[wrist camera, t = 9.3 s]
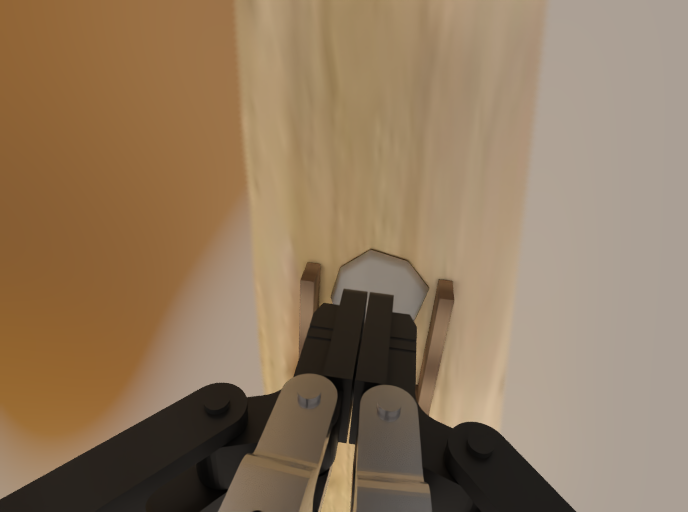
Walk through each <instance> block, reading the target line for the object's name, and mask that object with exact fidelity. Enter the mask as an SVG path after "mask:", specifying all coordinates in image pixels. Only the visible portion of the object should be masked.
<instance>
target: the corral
mask: <svg viewBox="0 0 688 512" xmlns="http://www.w3.org/2000/svg"><path fill="white" fill-rule="evenodd" d="M319 283H320V264H316V263H307V265H306V268H305V270H304V273H303V275H302V278H301V280H300V326H299V358H300V354H301V351H302V348H303V345H304V342H305V338H306V335H307V332H308V329H309V326H310V322H311V319H312V316H313V313H314V312H315V311H316V310H317V309H318V305H319ZM453 303H454V294H453V283H452V281H447V280H440V279H439V281H438V286H437V291H436V296H435V301H434V306H433V312H432V317H431V322H430V327H429V332H428V337H427V342H426V347H425V352H424V357H423V362H422V367H421V372H420V378H419V383H418V385H415V395H416V399H417V402H418V404H419V406H420V407H421V409H422V410H423V411H424V412H425V413H426V414H427V415H428V416H429V411H430V407H431V402H432V398H433V393H434V389H435V384H436V380H437V375H438V371H439V366H440V362H441V357H442V353H443V348H444V344H445V339H446V335H447V330H448V326H449V321H450V317H451V312H452V308H453ZM352 406H353V405H352Z"/></svg>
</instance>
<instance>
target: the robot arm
mask: <svg viewBox="0 0 688 512" xmlns="http://www.w3.org/2000/svg"><path fill="white" fill-rule="evenodd" d="M367 296H368V292H367V291H359V290H352V289H343V293H342V297H341V301H340V305H336V304H328V303H323V304H322V305H321V306H320V307H319V308H318V309H317V310H316V311H315V312H314V313H313V316H312V319H311V322H310V326H309V329H308V332H307V335H306V338H305V342H304V345H303V348H302V351H301V354H300V358H299V361H298V364H297V367H296V370H295V374H294V376H293V378H291V379H290V380H288V381H287V382H286V383H285V384H284V386H283V388H282V389H281V390H279V391H277V392H275V393H272V394H269V395H263V396H254V397H246V395H245V393H244V392H243V391H242V390H241V389H240V388H239V387H237V386H235V385H233V384H229V383H215V384H210V385H207V386H205V387H203V388H201V389H199V390H197V391H195V392H193V393H192V394H190V395H188V396H186V397H184V398H183V399H181V400H179V401H177V402H175V403H174V404H172V405H170V406H168V407H166V408H165V409H163V410H161V411H159V412H157V413H156V414H154V415H152V416H151V417H148V418H147V419H145V420H143V421H141V422H139V423H138V424H136V425H134V426H132V427H130V428H129V429H127V430H125V431H123V432H121V433H119V434H118V435H116V436H114V437H112V438H111V439H109V440H107V441H105V442H103V443H101V444H100V445H98V446H96V447H94V448H92V449H91V450H89V451H87V452H85V453H83V454H82V455H80V456H78V457H76V458H74V459H73V460H71V461H69V462H67V463H65V464H64V465H62V466H60V467H58V468H56V469H55V470H53V471H51V472H49V473H47V474H46V475H44V476H42V477H40V478H38V479H37V480H35V481H33V482H31V483H29V484H27V485H26V486H24V487H22V488H20V489H19V490H17V491H15V492H13V493H11V494H9V495H8V496H6V497H4V498H2V499H0V512H321V508H322V505H323V501H324V497H325V493H326V490H327V486H328V482H329V478H330V475H331V471H332V464H333V462H334V460H335V456H336V451H337V445H338V442H342V443H346V442H347V435H348V429H349V423H350V417H351V411H352V417H351V427H350V437H349V444H355V453H354V462H353V470H352V484H351V502H350V512H576V511H575V510H574V509H573V508H572V507H571V506H570V505H569V504H568V503H567V502H566V501H565V500H564V499H563V498H562V497H561V496H560V495H559V494H558V493H557V492H556V491H555V490H554V489H553V487H551V485H550V484H548V482H547V481H546V480H545V479H544V478H543V477H542V476H541V475H540V474H539V473H538V472H537V471H536V470H535V469H534V468H533V467H532V466H531V465H530V464H529V463H528V462H527V461H526V460H525V459H524V458H523V457H522V456H521V455H520V454H519V453H518V452H517V451H516V449H514V448H513V446H512V445H511V444H510V443H509V442H508V441H507V440H506V439H505V438H504V437H503V436H502V435H501V434H500V433H499V432H497V431H496V430H495V429H493V428H491V427H489V426H487V425H485V424H482V423H478V422H465V423H461V424H459V425H457V426H455V427H454V428H451V427H449V426H446V425H444V424H442V423H440V422H438V421H436V420H434V419H432V418H431V417H429V416H428V415H427V414H426V413H425V412H424V411H423V410H422V409H421V407H420V406H419V404H418V402H417V399H416V395H415V384H416V338H417V327H416V325H415V323H414V321H413V319H412V318H411V316H410V314H403V313H396V312H392V311H393V300H394V295H390V294H383V293H375V292H370V294H369V300H368V306H367V312H366V305H367ZM365 315H366V318H365ZM352 405H353V408H352Z"/></svg>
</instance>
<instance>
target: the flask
mask: <svg viewBox="0 0 688 512" xmlns="http://www.w3.org/2000/svg"><path fill="white" fill-rule="evenodd" d="M343 289H352V290H359V291H367V292H368V296H367V305H366V312H367V306H368V300H369V294H370V292H375V293H383V294H390V295H394V300H393V311H392V312H396V313H403V314H410V316H411V318H412V319H413V321H414V320H415V318H416V316H417V314H418V312H419V310H420V308H421V305H422V303H423V301H424V299H425V297H426V295H427V292H428V290H429V288H428V287H427V285H426V284H425V283H424V281H423V280H422V279H421V278H420V276H419V275H418V274H417V272H416V271H415V270H414V269H413V267H412V266H411V265H410V263H409V262H408V261H405V260H402V259H399V258H396V257H392V256H389V255H386V254H383V253H380V252H376V251H373V250H369V251H368V252H366V253H364V254H363V255H361V256H359V257H357V258H356V259H354V260H352V261H351V262H349V263H347V264H346V265H344V266H342V267H341V268H340V270H339V273H338V276H337V279H336V282H335V285H334V288H333V291H332V294H331V299H332V302H333V304H336V305H340V301H341V297H342V293H343ZM365 318H366V315H365Z"/></svg>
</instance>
